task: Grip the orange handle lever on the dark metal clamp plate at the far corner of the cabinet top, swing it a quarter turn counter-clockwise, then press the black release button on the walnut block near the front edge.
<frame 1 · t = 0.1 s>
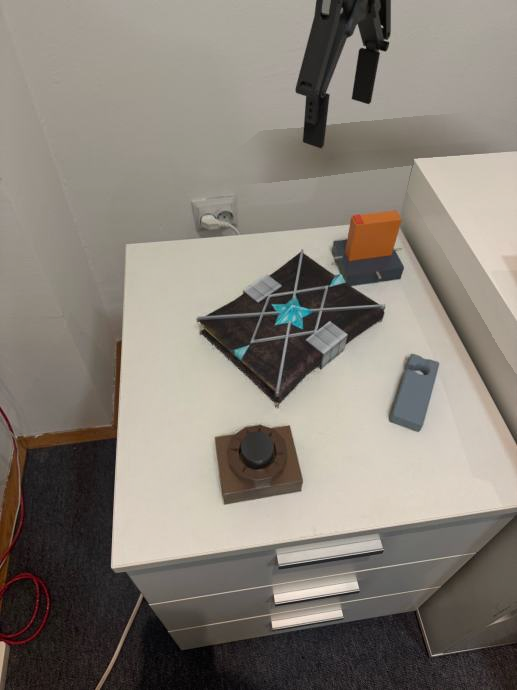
hand: (338, 121, 66), 21 cm above the table, tool pointing down, fingers open, 13 cm apart
bracket: (412, 395, 64), on the table
clamp plate: (365, 265, 79), on the table
orange handle lever: (372, 235, 74), point 6 cm above the table, hinge at 0.0°
release button: (257, 449, 53), point 5 cm above the table, slide at 0.1 cm
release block: (257, 469, 58), on the table
book: (290, 329, 71), on the table
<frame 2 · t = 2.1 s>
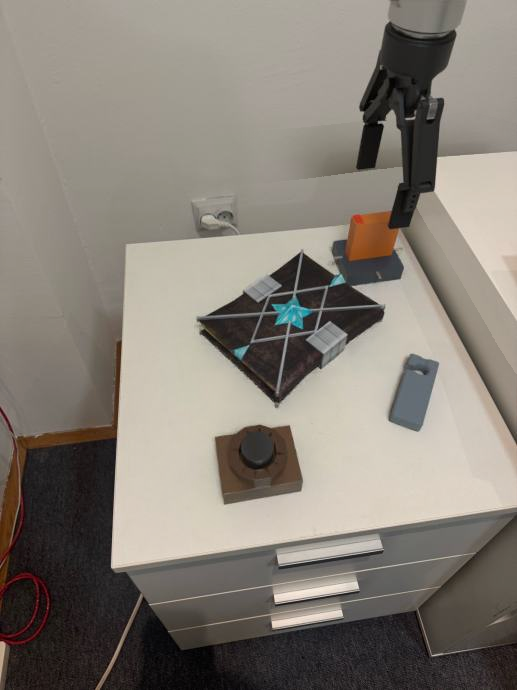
hand: (380, 195, 68), 13 cm above the table, tool pointing down, fingers open, 13 cm apart
nothing on the table moved.
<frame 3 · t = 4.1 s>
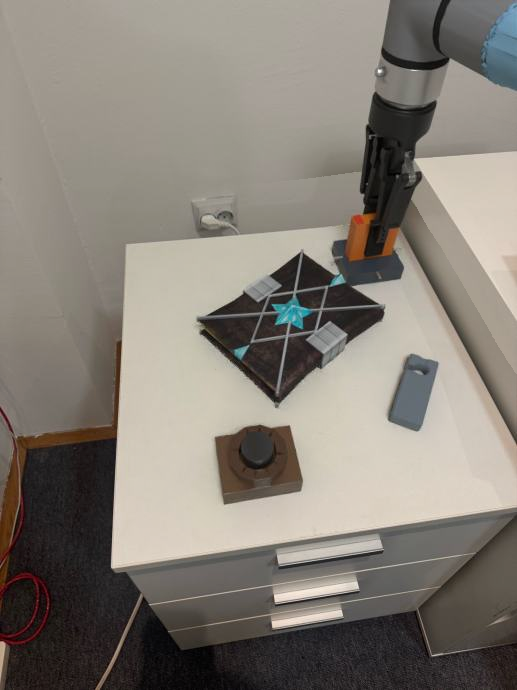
hand: (369, 247, 76), 4 cm above the table, tool pointing down, fingers closed on orange handle lever, 2 cm apart
orange handle lever: (372, 235, 74), point 6 cm above the table, hinge at 1.6°, touching gripper
everything else where it was.
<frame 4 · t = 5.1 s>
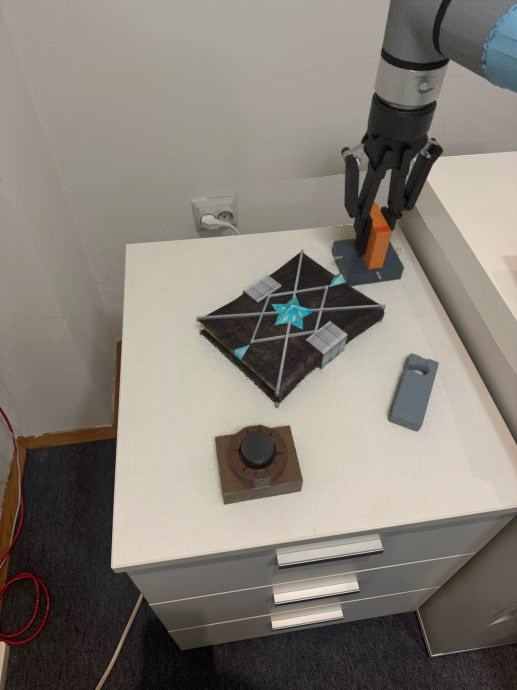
hand: (369, 247, 76), 4 cm above the table, tool pointing down, fingers closed on orange handle lever, 2 cm apart
orange handle lever: (372, 235, 74), point 6 cm above the table, hinge at 89.3°, touching gripper
everything else where it was.
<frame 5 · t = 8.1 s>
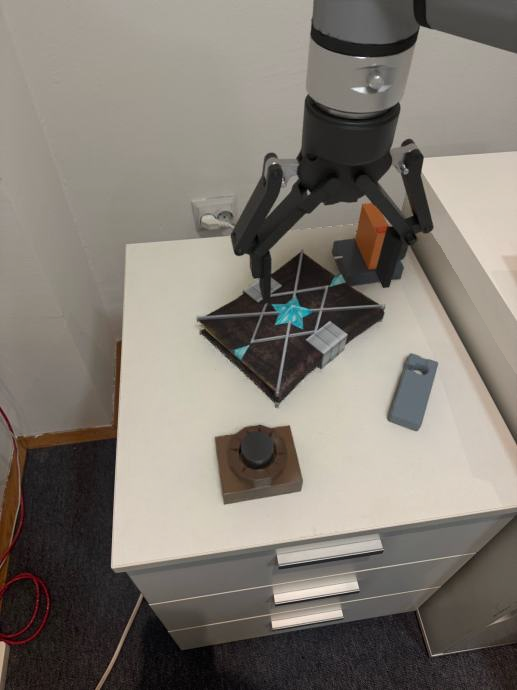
hand: (324, 287, 55), 15 cm above the table, tool pointing down, fingers open, 13 cm apart
orange handle lever: (372, 235, 74), point 6 cm above the table, hinge at 89.3°
everything else where it was.
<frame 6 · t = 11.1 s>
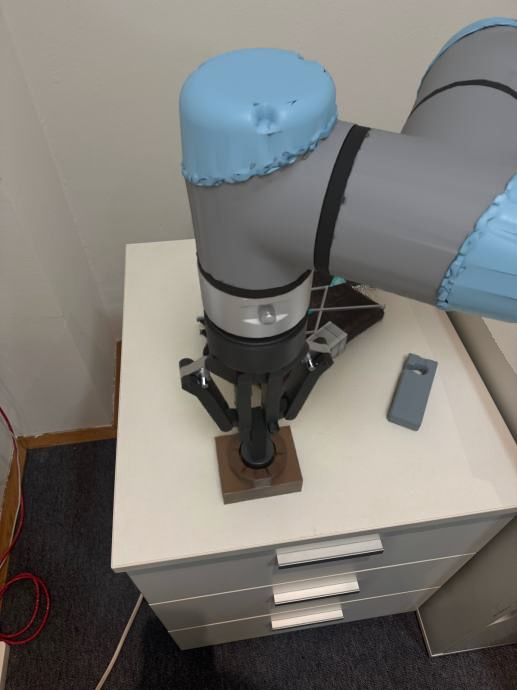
hand: (256, 447, 53), 6 cm above the table, tool pointing down, fingers closed
release button: (257, 452, 54), point 5 cm above the table, slide at -0.5 cm, touching gripper
everything else where it was.
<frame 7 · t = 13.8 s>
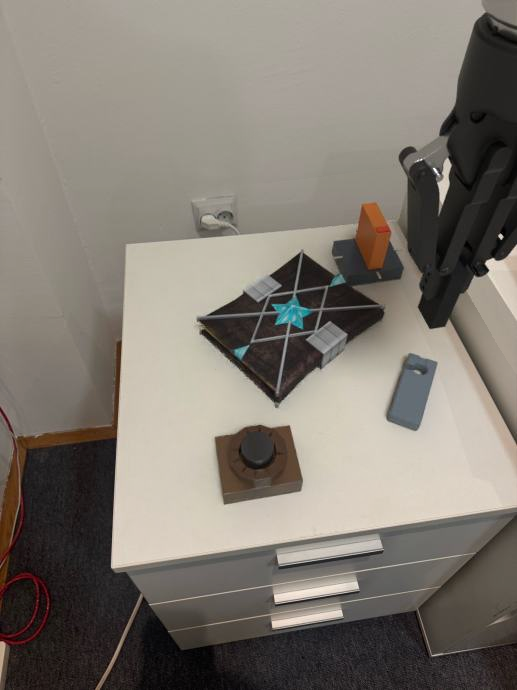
hand: (431, 316, 44), 21 cm above the table, tool pointing down, fingers closed
release button: (257, 449, 53), point 5 cm above the table, slide at 0.1 cm
everything else where it was.
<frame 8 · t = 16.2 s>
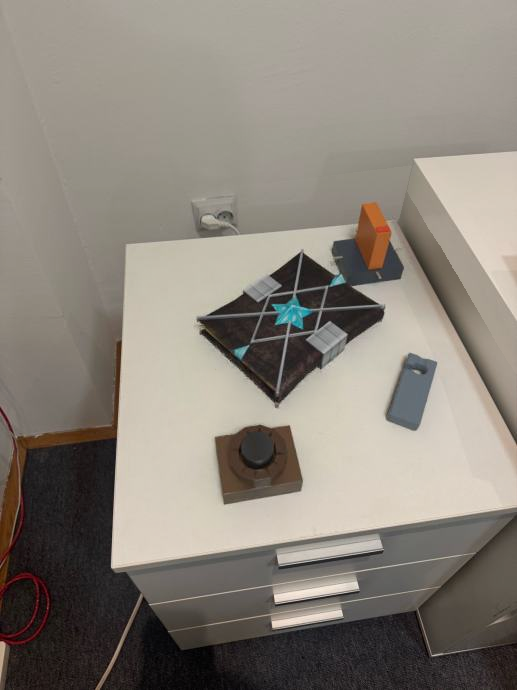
nothing on the table moved.
at the end: orange handle lever at +89° (first picture: +0°); release button pushed in 1.0 cm at the most during the clip, back to where it started at the end; release button slide at 0.1 cm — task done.
